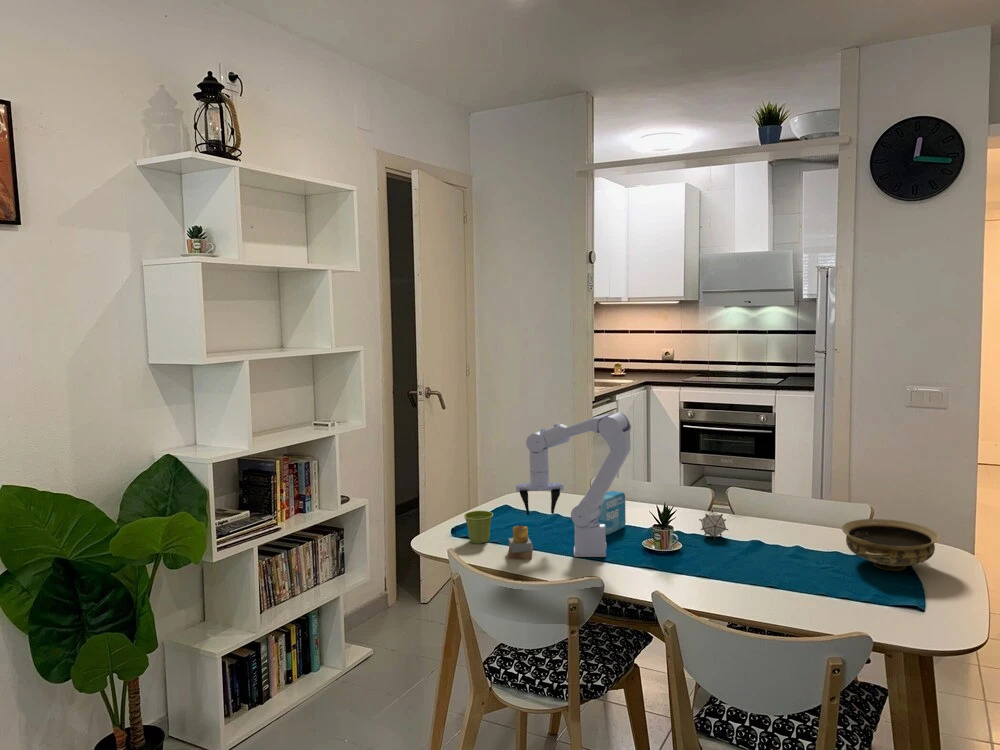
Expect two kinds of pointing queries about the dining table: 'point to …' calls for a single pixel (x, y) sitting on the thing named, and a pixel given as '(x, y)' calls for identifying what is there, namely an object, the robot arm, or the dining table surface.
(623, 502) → the data package
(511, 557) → the walnut base block
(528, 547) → the grey painted block
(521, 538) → the golden brown cylinder
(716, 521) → the grey spiked ball
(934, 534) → the ceramic bowl
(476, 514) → the plant pot
